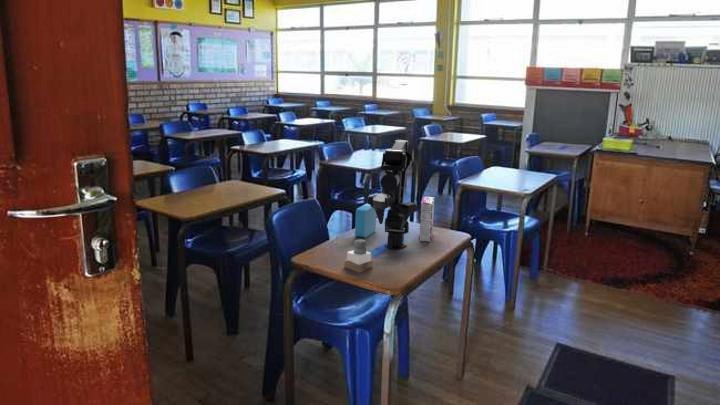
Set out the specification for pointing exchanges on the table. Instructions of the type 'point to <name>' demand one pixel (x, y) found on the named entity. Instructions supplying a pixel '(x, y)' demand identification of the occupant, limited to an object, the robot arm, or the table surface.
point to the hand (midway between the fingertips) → (390, 226)
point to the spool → (360, 246)
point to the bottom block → (358, 266)
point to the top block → (358, 257)
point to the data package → (365, 221)
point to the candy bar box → (426, 219)
